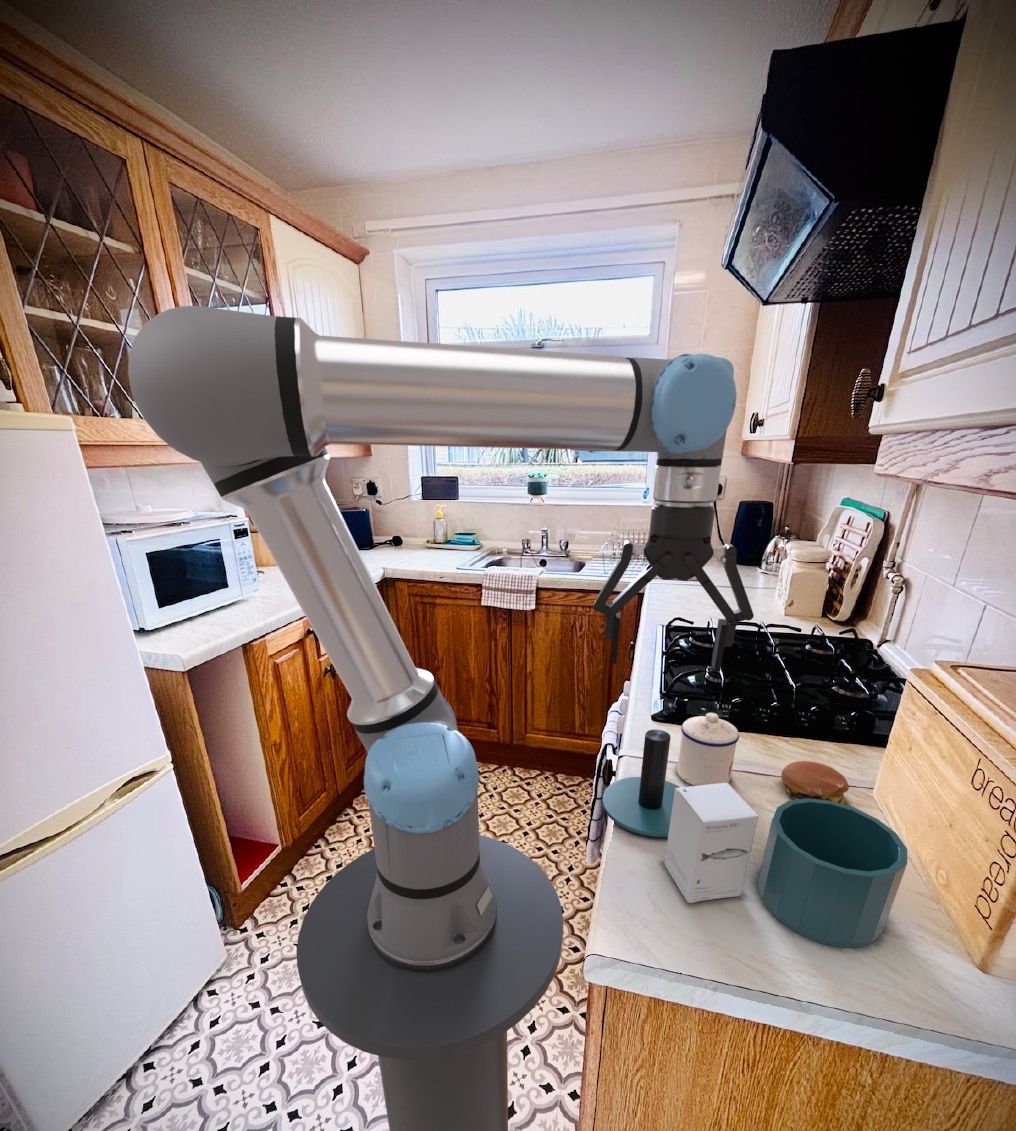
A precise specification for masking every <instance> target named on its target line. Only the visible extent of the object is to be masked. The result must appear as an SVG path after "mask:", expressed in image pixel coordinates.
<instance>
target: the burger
mask: <svg viewBox="0 0 1016 1131" xmlns="http://www.w3.org/2000/svg"><path fill="white" fill-rule="evenodd" d="M781 779H782V781H781V786H782V788H783V790H784V791H785V792H786V793H787V794H788V795H789V796H790V797H792V798H793V800H798V799H805V798H809V799H819V800H828V801H833V802H837V803H840V804H844V805H845V803H846V801H845V800H846V799H845V796H844V794H845V793H847V792H848V791H849V788H850V786H849V785H850V784H849V783H848V781H847V779H846V777H845V776H844V775H843V774H842V773H841V772H839V771H838V770H836V769H835V768H833V767H831V766H829V765H826V764H824V763H820V762H816V761H810V760H803V761H802V760H800V761H799V760H798V761H793V762H791V763H789V764H787V765H786V766H785V767H784V768H783V769H782V771H781Z"/></svg>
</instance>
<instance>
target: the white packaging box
mask: <svg viewBox="0 0 1016 1131" xmlns="http://www.w3.org/2000/svg"><path fill="white" fill-rule="evenodd" d="M679 787H680V788H675V792H674V800H673V806H672V814H671V820H670V828H669V834H668V837H667V842H666V849H665V856H664V862H663V864H664V866H665V867H666V869H667V871H668V873H669V875H670V876H671V878H672V880H673V881H674V883H675V884H676V886H677V887H678V890H679V891H680V893H681V894H682V896H683V898H684V900H686V902H687V904H692V903H693V904H694V903H697V902H698V903H699V902H703V901H709V900H710V901H711V900H718V899H724V898H725V899H726V898H734V897H741V896H742V893H743V890H744V884H745V880H746V874H747V870H748V865H749V861H750V856H751V852H752V847H753V843H754V840H755V834H756V830H757V825H758V820H759V814H758V813H757V812H756V811H755V810H754V809H753V808H752V807H751V806H750V804H749V803H748V802H746V801H745V799H744V798H743V797H742V796H741V795H740V794H739V793H738V792H737V791H736V790H735V789H734V788H733V786H731V784H730V783H729V782H728V783H718V784H709V785H698V786H694V785H690V786H679Z"/></svg>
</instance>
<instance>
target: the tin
mask: <svg viewBox="0 0 1016 1131" xmlns="http://www.w3.org/2000/svg"><path fill="white" fill-rule="evenodd" d="M768 831H769V832H768V836H767V840H766V845H765V849H764V854H763V858H762V861H761V862H762V863H761V866H760V871H759V875H758V880H757V885H758V886H757V888H758V892H759V896H760V899H761V900H762V902H763V904H764V906H765V907H766V908H767V910H768V911H769V912H770V913H771V914H772V915H773V917H775V918H776V919H777V920H778V921H779V922H780V923H782V924H783V925H784V926H785V927H787V928H788V929H790V930H792V931H793V932H795V933H797V934H798V935H800V936H801V937H804V938H806V939H809V940H812V941H814V942H815V943H819V944H823V945H825V946H830V947H835V948H844V949H847V948H848V949H850V948H851V949H853V948H854V949H855V948H861V947H865V946H868V945H870V944H872V943H874V942H875V941H876V940H877V939H878V938H879V937H880V936H881V934H882V932H884V930H885V927H886V925H887V921H888V918H889V916H890V913H891V910H892V908H893V905H894V901H895V899H896V897H897V893H898V891H899V889H900V888H899V887H900V885H901V883H902V880H903V876H904V873H905V871H906V868H907V866H908V848H907V846H906V845H905V844H904V842H903V840H902V839H901V838H900V836H899V835H898V834H897V833H896V832H895V831H894V830H893V829H892V828H890V827H889V826H887V824H885V823H884V822H882V821H881V820H880V819H878V818H876V817H874V816H873V815H871V814H868V813H867V812H864V811H862V810H860V809H858V808H856V807H854V806H850V805H847V804H845V803H844V804H840V803H837V802H833V801H828V800H819V799H809V798H805V799H798V800H796V799H791V800H788V801H785V802H784V803H782V804H780V805H778V806H776V808H775V809H774V813H773V816H772V819H771V822H770V827H769V830H768Z"/></svg>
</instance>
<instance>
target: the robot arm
mask: <svg viewBox="0 0 1016 1131" xmlns="http://www.w3.org/2000/svg"><path fill="white" fill-rule="evenodd" d="M130 347H131V348H130V351H129V354H128V364H127V375H128V381H129V387H130V391H131V395H132V397H133V400H134V402H135V406H136V407H137V409H138V410H139V413H140V414H141V416H142V418H143V419H144V421H145V422H146V424H147V425H148V426H149V427H150V428H151V429H152V431H153V432H154V433H155V434H156V436H158V437H159V438H160V439H161V440H162V441H163V442H165V443H166V444H167V445H168V446H169V447H171V448H172V449H174V450H175V451H176V452H178V453H180V454H182V455H183V456H186V457H187V458H188V459H191V460H194V461H196V462H200V464H201V465H202V467H203V469H204V471H205V473H206V474H207V476H208V477H209V479H210V481H211V482H212V484H213V486H214V488H215V490H216V491H217V493H218V494H219V496H220V498H221V499H222V501H224V502H227V503H229V504H231V505H234V506H236V507H239V508H242V510H244V511H245V512H247V514H248V516H249V518H250V519H251V521H252V524H253V525H254V527H255V529H256V530H257V532H258V533H259V536H260V537H261V539H262V541H263V543H264V545H265V546H266V549H267V550H268V551H269V554H270V555H271V557H272V559H273V561H274V562H275V564H276V566H277V568H278V569H279V571H280V573H281V574H282V576H283V578H284V580H285V582H286V584H287V585H288V588H289V589H290V591H291V593H292V595H293V596H294V598H295V600H296V602H297V604H298V605H299V607H300V609H301V610H302V613H303V614H304V616H305V618H306V620H307V621H308V623H309V625H310V626H311V629H312V630H313V632H314V634H315V635H316V637H317V639H318V641H319V643H320V645H321V646H322V648H323V650H324V651H325V653H326V655H327V657H328V659H329V660H330V662H331V664H332V666H333V667H334V670H335V671H336V674H337V675H338V677H339V678H340V680H341V681H342V684H343V685H344V687H345V689H346V691H347V693H348V695H349V696H350V698H351V701H350V702H349V706H348V708H347V712H346V717H347V719H348V721H349V722H350V724H351V726H352V727H353V729H354V731H355V733H356V735H357V736H358V738H359V740H360V742H361V744H362V745H363V747H364V749H365V750H366V753H367V755H366V758H365V764H364V773H363V787H364V793H365V796H366V798H367V801H368V808H369V816H370V817H369V818H370V824H371V831H372V841H373V847H374V848H373V849H375V857H376V864H377V872H378V874H377V877H376V881H375V883H374V885H373V892H372V895H371V899H370V902H369V907H368V913H367V923H368V930H369V936H370V940H371V943H372V945H373V947H374V949H375V950H376V951H377V953H378V954H379V955H380V956H381V957H382V958H383V959H384V960H386V961H387V962H389V963H390V964H392V965H394V966H396V967H398V968H401V969H404V970H408V971H414V972H435V971H441V970H445V969H449V968H452V967H454V966H457V965H459V964H461V963H463V962H465V961H467V960H468V959H470V958H471V957H473V956H474V955H475V954H477V953H478V952H479V951H480V950H481V949H482V948H483V947H484V946H485V944H486V943H487V942H488V940H489V939H490V937H491V935H492V933H493V931H494V928H495V925H496V920H497V901H496V895H495V892H494V889H493V886H492V884H491V882H490V880H489V878H488V875H487V873H486V871H485V869H484V867H483V865H482V863H481V860H480V845H479V835H480V821H479V818H480V817H479V787H480V786H479V785H480V773H479V772H480V771H479V766H478V762H477V758H476V753H475V750H474V748H473V746H472V744H471V743H470V741H469V739H467V737H466V736H464V735H463V734H462V733H461V732H460V731H459V729H458V726H457V725H458V724H457V723H458V722H457V718H456V715H455V712H454V710H453V708H452V706H451V705H450V703H449V702H448V701H447V700H446V698H445V697H444V696H443V695H442V692H441V691H440V688H439V686H438V684H437V682H436V680H435V678H434V676H433V674H432V673H431V672H430V671H428V670H426V669H422V668H419V667H416V666H415V664H414V662H413V660H412V658H411V656H410V653H409V651H408V650H407V648H406V645H405V643H404V641H403V639H402V637H401V634H400V633H399V631H398V628H397V626H396V624H395V623H394V620H393V618H392V616H391V614H390V613H389V610H388V608H387V606H386V604H385V602H384V600H383V598H382V595H381V593H380V591H379V589H378V587H377V585H376V583H375V581H374V579H373V577H372V575H371V572H370V571H369V569H368V566H367V565H366V563H365V560H364V558H363V556H362V554H361V551H360V550H359V548H358V546H357V544H356V542H355V540H354V537H353V535H352V533H351V532H350V529H349V527H348V525H347V523H346V521H345V519H344V517H343V515H342V513H341V511H340V508H339V506H338V504H337V503H336V499H335V498H334V496H333V494H332V492H331V489H330V487H329V485H328V484H327V482H326V473H327V469H328V466H329V463H330V460H331V456H330V454H329V452H328V450H327V448H326V447H327V446H329V445H368V446H370V445H372V446H374V445H375V446H377V445H378V446H407V447H408V446H412V447H413V446H414V447H416V446H417V447H449V448H451V447H454V448H455V447H456V448H457V447H459V448H496V449H497V448H498V449H534V450H535V449H536V450H537V449H541V450H542V449H543V450H571V451H578V452H588V453H590V454H592V453H594V452H618V453H619V452H621V453H622V452H623V453H625V452H629V453H631V452H633V453H637V452H638V453H639V452H640V453H656V461H655V462H656V465H655V470H654V471H655V473H654V482H653V491H652V498H653V500H654V501H656V503H655V504H654V505H653V506H652V507H651V511H650V512H651V514H650V522H649V532H648V539H647V541H646V543H644V544H642V543H636V542H633V541H632V540H630V539H629V540H625V541H624V543H623V546H622V550H621V555H620V558H619V560H618V561H617V562H616V564H615V566H614V568H613V569H612V571H611V573H610V575H609V576H608V578H607V580H606V582H605V583H604V584H603V586H602V588H601V590H600V591H599V593H598V595H597V596H596V598H595V599H594V601H593V607H592V609H593V611H594V612H597V613H601V614H603V615H604V617H605V628H604V637H605V639H607V640H612V647H611V657H610V658H611V659H610V664H611V665H617V664H618V663H617V662H618V650H619V641H620V640H619V639H620V631H621V630H620V628H621V618H622V617H621V616H622V614H621V612H620V611H621V610H622V609H623V608H624V607H625V606H626V605H627V604H628V603H629V602H630V601H631V600H632V599H633V598H634V597H635V596H637V595H638V593H640V592H641V591H642V589H644V588H645V586H647V585H648V584H649V583H650V582H652V581H653V580H654V579H655V578H656V577H658V578H660V579H662V581H663V580H664V581H665V580H666V581H671V580H675V579H676V580H679V581H684V582H685V581H686V582H687V581H688V580H691V579H693V578H696V580H697V581H698V583H699V584H700V586H701V587H702V588H703V590H704V591H705V593H707V595H708V596H709V598H710V599H711V600H712V602H713V603H714V605H715V606H716V607H717V609H718V610H719V611H720V613H721V614H722V615H723V617H724V618H725V619H724V618H718V620H717V627H716V632H715V638H714V646H713V650H712V658H711V667H712V670H713V672H716V673H720V672H721V670H722V669H721V668H722V662H723V656H724V650H725V647H727V648H731V647H732V646H733V645H734V640H735V634H736V629H737V626H738V625H739V623H741V622H744V621H752V620H753V619H754V617H755V614H754V612H753V609H752V606H751V603H750V601H749V600H750V599H749V597H748V595H747V591H746V589H745V586H744V584H743V580H742V577H741V574H740V572H739V569H738V566H737V553H738V552H737V548H736V547H735V546H734V545H733V544H732V543H726V544H724V545H721V546H712V534H713V529H714V521H715V515H716V509H715V508H714V506H713V505H712V503H714V502H716V500H718V491H719V485H720V477H721V469H722V464H723V463H722V462H723V459H724V458H723V457H724V451H725V443H726V439H727V432H728V428H729V426H730V425H731V422H732V420H733V417H734V414H735V410H736V407H737V404H736V402H737V396H738V395H737V386H736V381H735V379H734V374H735V371H734V370H735V369H734V365H733V363H732V361H731V360H729V359H727V358H725V357H718V356H714V355H712V354H708V353H707V354H706V353H696V354H692V353H691V354H690V353H683V354H680V355H678V356H676V357H673V358H667V359H666V358H665V359H664V358H650V357H625V356H623V355H609V354H592V353H577V352H565V351H564V352H563V351H552V350H551V351H549V350H535V349H534V350H533V349H521V348H506V347H505V348H504V347H491V346H476V345H462V344H449V343H448V344H447V343H435V342H434V343H432V342H421V341H420V342H419V341H405V340H404V341H403V340H389V339H377V338H362V337H361V338H359V337H348V336H347V337H346V336H333V335H332V336H331V335H320V334H318V333H317V332H315V331H314V330H313V329H312V328H311V327H310V326H309V325H308V323H307V322H306V321H305V320H304V319H303V318H301V317H292V316H291V317H290V316H277V315H268V314H261V313H253V312H247V311H246V312H245V311H239V310H231V309H225V308H224V309H223V308H217V307H210V306H202V305H183V306H182V305H181V306H177V307H172V308H169V309H166V310H164V311H161V312H159V313H157V314H156V315H155V316H154V317H152V318H151V319H149V320H148V321H147V322H145V323H144V324H143V326H142V327H141V329H140V330H139V331H138V333H137V334H136V336H135V338H134V339H133V342H132V345H131V346H130ZM642 554H643V555H644V557H645V559H646V561H647V562H648V564H647V566H645V567H644V568H643V570H642V571H641V572H639V574H638V575H637V576H636V577H635V578H634V579H633V580H632V581H631V582H630V583H629V584H628V585H627V586H626V587H625V588H624V589H623V590H622V591H621V592H620V593H618V595H617V596H616V597H615V598H614V599H613V600H612V601H611V602H610V603H609V602H608V600H609V599H610V597H611V595H612V594H613V592H614V590H615V588H616V587H617V585H618V584H619V583H620V581H621V579H622V577H623V576H624V574H625V572H626V571H627V569H628V567H629V566H630V562H631V561H636V560H637V558H638V557H639V556H640V555H642ZM713 557H716V559H717V562H718V563H719V564H721V565H723V568H724V571H725V574H726V577H727V579H728V583H729V585H730V588H731V590H732V591H731V592H732V594H733V597H734V600H735V602H736V605H737V607H738V609H735V610H733V609H732V607H731V606H730V605H729V603H728V602H727V601H726V599H725V597H724V596H723V595H722V593H721V592H720V590H719V589H718V588H717V586H716V585H715V583H714V582H713V581H712V579H711V578H710V576H709V575H708V574H707V573H706V571H705V570H704V567H705V566H706V564H708V563H709V561H710V560H711V559H712V558H713Z"/></svg>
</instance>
